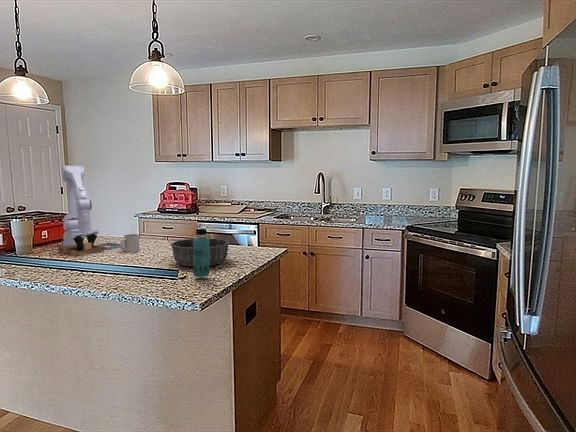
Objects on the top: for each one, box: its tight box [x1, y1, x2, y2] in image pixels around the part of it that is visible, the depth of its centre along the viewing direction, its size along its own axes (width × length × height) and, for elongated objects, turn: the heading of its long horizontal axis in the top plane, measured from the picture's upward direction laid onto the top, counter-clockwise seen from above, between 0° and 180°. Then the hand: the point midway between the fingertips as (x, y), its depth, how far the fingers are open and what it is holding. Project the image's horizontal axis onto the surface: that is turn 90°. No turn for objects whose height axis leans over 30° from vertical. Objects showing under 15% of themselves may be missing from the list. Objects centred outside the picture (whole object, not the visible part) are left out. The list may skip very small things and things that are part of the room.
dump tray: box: [94, 242, 121, 251], centre depth 217 cm, size 11×10×2 cm
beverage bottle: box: [192, 228, 211, 278], centre depth 159 cm, size 6×7×20 cm
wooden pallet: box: [58, 244, 105, 258], centre depth 203 cm, size 15×14×4 cm
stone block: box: [83, 241, 92, 250], centre depth 202 cm, size 4×4×5 cm
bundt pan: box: [170, 237, 230, 268], centre depth 186 cm, size 26×26×10 cm
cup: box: [119, 233, 140, 254], centre depth 207 cm, size 7×10×9 cm
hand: (85, 250), depth 202 cm, fingers open, 5 cm apart
